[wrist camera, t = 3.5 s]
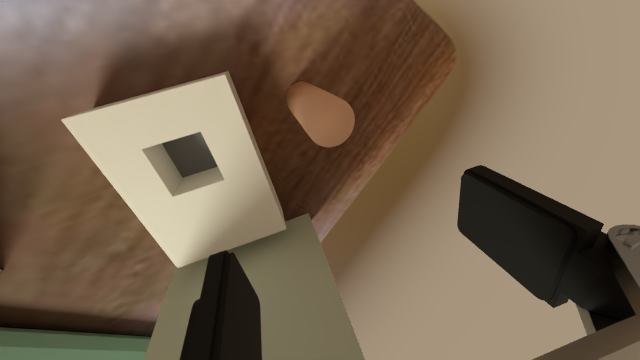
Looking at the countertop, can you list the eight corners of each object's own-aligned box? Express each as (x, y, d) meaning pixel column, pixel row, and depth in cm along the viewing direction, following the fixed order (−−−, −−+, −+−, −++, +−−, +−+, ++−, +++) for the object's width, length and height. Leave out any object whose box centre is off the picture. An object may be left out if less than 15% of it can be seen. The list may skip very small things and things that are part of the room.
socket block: (93, 108, 25) (60, 119, 21) (228, 70, 26) (225, 74, 22) (186, 241, 34) (177, 268, 30) (281, 208, 36) (286, 228, 32)
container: (163, 375, 37) (-99, 376, 26) (156, 380, 40) (-79, 382, 29) (177, 330, 41) (-46, 314, 30) (169, 338, 44) (-33, 326, 33)
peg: (281, 86, 29) (300, 105, 18) (313, 77, 29) (350, 90, 19) (291, 119, 31) (313, 153, 20) (321, 110, 31) (358, 138, 21)
